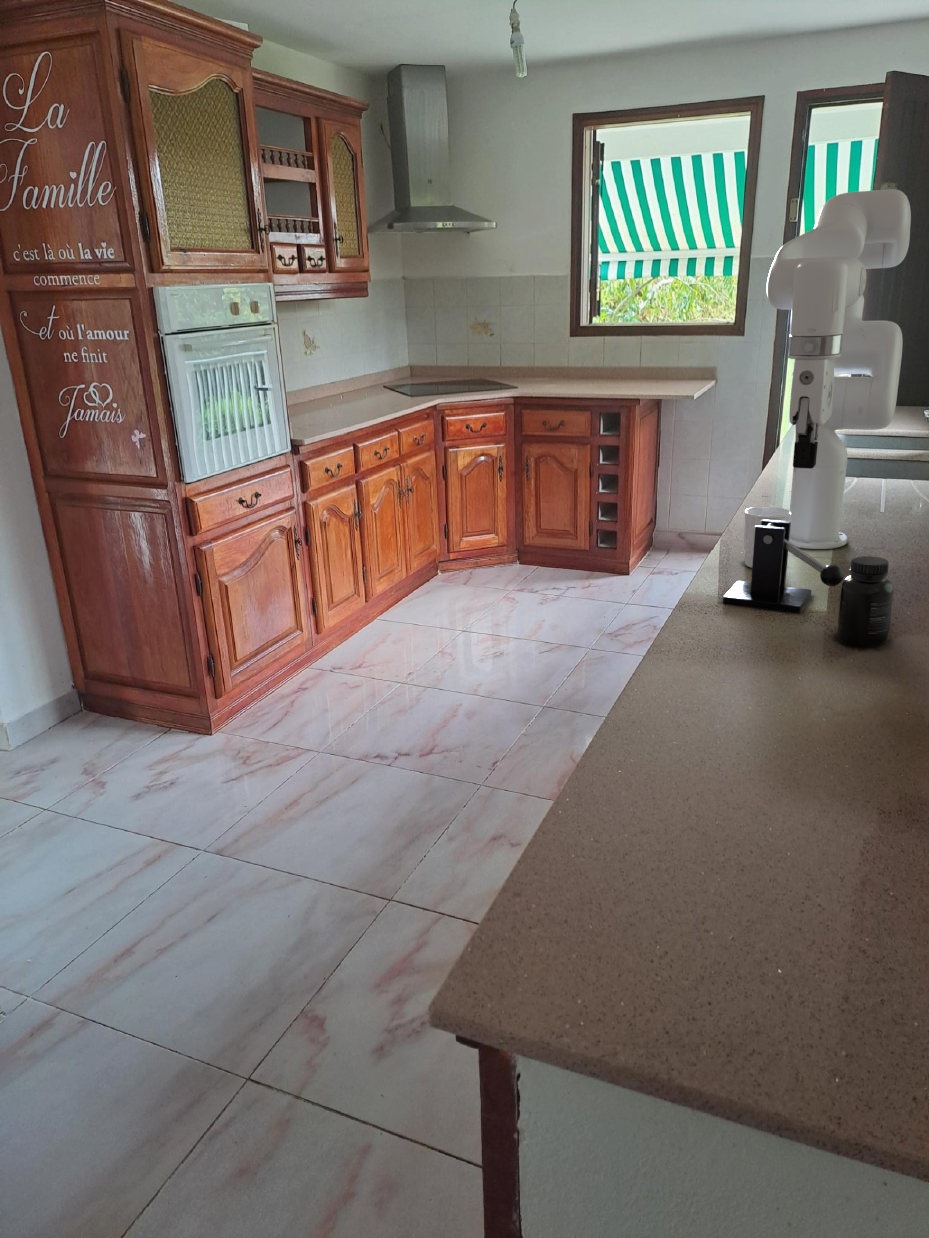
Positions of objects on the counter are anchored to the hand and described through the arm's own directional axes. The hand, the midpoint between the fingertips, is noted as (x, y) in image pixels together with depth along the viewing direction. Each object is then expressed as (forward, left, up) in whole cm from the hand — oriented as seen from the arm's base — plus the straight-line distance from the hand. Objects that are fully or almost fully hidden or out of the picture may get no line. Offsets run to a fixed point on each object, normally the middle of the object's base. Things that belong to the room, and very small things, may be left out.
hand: (804, 466), depth 140 cm
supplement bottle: (+18, +13, -21) cm, 31 cm away
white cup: (-13, -8, -21) cm, 26 cm away
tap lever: (+6, +1, -14) cm, 16 cm away
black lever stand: (+6, -3, -21) cm, 22 cm away
